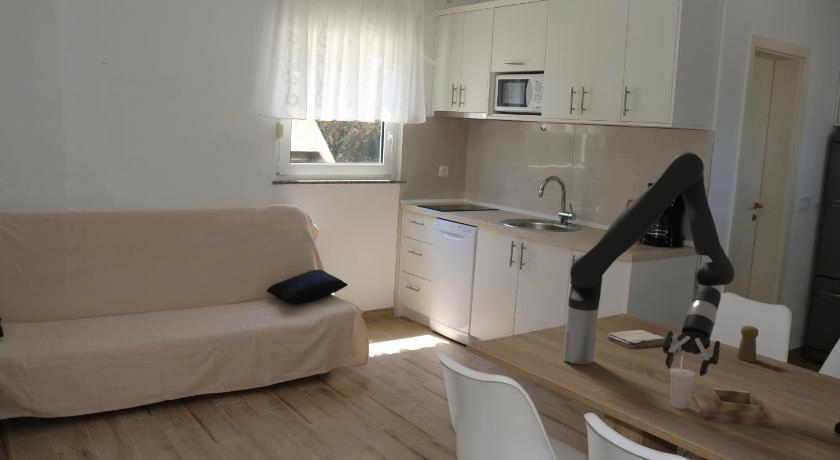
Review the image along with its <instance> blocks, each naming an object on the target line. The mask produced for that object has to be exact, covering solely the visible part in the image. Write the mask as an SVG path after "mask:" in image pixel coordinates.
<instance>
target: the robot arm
mask: <svg viewBox="0 0 840 460" xmlns="http://www.w3.org/2000/svg"><path fill="white" fill-rule="evenodd" d="M704 171H705V164H704V162H703V160H702V159H701V157H700V156H699V155H697V154H695V153H693V152H688V151H687V152H685V151H684V152H681V153H678V154H677V155H676V156H674V157H673V159H672V160H671V161H670V163H669V164H668V165H667V167H666V168H665V169H664V171H663V172H662V173H661V175H660V176H659V177H658V178H657V179H656V181H655V182H654V183H653V184H651V185H650V186H649V187H648V188H647V189H646V190H644V191H643V192H642V193H641V194H640V195H638V197H636V198H635V199H634V200H633V201H631V203H630V204H628V206H627V207H625V208H624V209H623V211H622V212H620V214H619V215H618V216H617V217H616V218H615V219H614V221H613V222H612V223H611V224H610V226H609V227H608V228H607V230H606V231H605V232H604V234H603V235H602V237H601V238H600V239H599V240H598V241H597V243H596V244H595V245H594V246H593V247H592V248H590V249H588V251H587V252H586V253H584V254H583V255H580V256H579V257H578V258H576V259H575V261H574V262H572V265H571V267H570V272H569V275H570V279H571V284H570V291H569V296H568V302H567V303H568V304H567V317H566V326H565V333H564V343H563V345H564V346H563V355H562V356H563V362H566V361H567V363H570V364H574V365H581V366H582V365H586V366H587V365H591V364H594V361H595V360H594V358H595V349H596V341H597V340H596V338H597V328H598V319H599V307H600V300H601V293H602V285H603V283H602V282H603V276H604V274H605V273H606V272H607V270H608V269H609V268H610V267H611V265H612V264H613V263H614V262H615V261H616V260H617V259H618V258H619V257H621V256H622V255H623V254H624V253H625V252H627V251H628V250H629V249H631V247H632V246H634V245H635V244H636V243H637V242H639V241H640V239H641V238H643V237H644V236H645V235H646V234H647V233H648V232H649V231H650V230H651V229H652V227H653V226H654V225H655V224H656V223H657V222H658V220H659V219H660V218H661V217H662V216H663V214H664V213H665V212H666V211H667V208H668V207H669V206H670V205H671V203H673V202H674V200H675V199H677V197H678V196H680V195H682V199H683V202H684V205H685V210H686V216H687V222H688V226H689V227H688V228H689V232H690V236H691V240H692V244H693V248H694V251H695V253H696V255H699V256H704V257H705V256H706V257H709V259H710V260H711V261H709V262H702V263H700V264H699V265H698V266H697V267H696V268H695V271H694V295H693V297H692V300H691V304H690V305H689V307H688V310H687V314H686V315H685V319H684V323H683V325H682V329H681V330H680V331H681V332H680V333H679V334H677V333H673V331H672V330H670V331H668V332H667V335H666V337H665V338H666V339H665V342H664V344H662V351H663V354H664V355H666V354H667V355H666V359H665V361H664V362H665V366H666V368H667V369H669V370H670V369H671V368H672V365H673V362H674V358H675V356H676V355H678V354H681V353H683V352H685V353H688V354H689V353H690V354H694V355H696V356H697V355H700V357H701V359H702V362H701V366H700V369H699V376H701V377H704V376H705V375H706V374H707V373H708V370H709V369H708V368H709V366H710V365H712V364H713V365H717V364H718V363H719V358H720V353H721V348H722V347H721V341H720V340H716V341H711V340H710V339H711V336H712V333H713V330H714V326H715V325H716V320H717V313H718V310H719V306H720V302H721V299H722V294H721V292H720V290H718V289H717V288H716V287H717V286H719V287H720V286H727V285H729V284H731V283H732V282H733V281H734V278H735V269H734V266H733V264H732V262H731V261H730V259H729V257H728V256H727V253H726V252H725V250H724V248H723V247H722V245H721V242H720V237H719V235H718V230H717V227H716V223H715V220H714V217H713V213H712V211H711V209H710V205H709V202H708V197H707V195H706V188H705V180H704V179H705V178H704V177H705V176H704ZM676 340H678V342H676ZM674 342H676V343H675V344H674V345H673V344H672V343H674ZM672 345H673V346H672ZM671 346H672V347H671ZM710 347H711V350H712V351H713V352H712V356H709V355H708V353H707V351H706V350H707V349H708V348H710Z"/></svg>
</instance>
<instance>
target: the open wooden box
mask: <svg viewBox="0 0 840 460" xmlns="http://www.w3.org/2000/svg"><path fill="white" fill-rule="evenodd" d="M691 396H692V400H693V401H694V403H695V405H696V407H697V408H698V410H699V412H700V414H701V416H702V418H703V419H704V421H709V422H717V423H718V422H719V423H726V424H734V425H735V424H736V425H742V426H743V425H744V426H752V427H753V426H754V427H761V428H771V429H777V430H778V429H780V427H781V424H780V422H779V421H778V419H776V417H775V416H774V415H773V413H772V412H771V411H770V409H769V408H768V407H767V406H766V405H765V403H764V402H763V401H762V400H759V399H758V397H756V395H755V394H754V393H753V392H752V391H747V390H746V391H745V390H737V389H728V388H727V389H726V388H720V387H719V388H718V387H708V394H704V393H695V392H692V395H691Z"/></svg>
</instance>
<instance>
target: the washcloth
mask: <svg viewBox="0 0 840 460" xmlns="http://www.w3.org/2000/svg"><path fill="white" fill-rule="evenodd" d="M606 339H607V340H609V341H610V340H611V342H612V341H613V343H615V344H617V343H618V344H617V345H619V344H620V346H622V347H624V348H626V349H627V348H628V349H630V348H631V349H636V348H645V347H653V345H654V346H660V345H662V346H663V344H664V342H665V339H666V337H664V336H661V335H657V334H653V333H651V332H649V331H647V330H643V329H636V330H626V331H625V330H623V331H618V332H617V331H616V332H609V333H607V337H606Z"/></svg>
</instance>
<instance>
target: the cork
mask: <svg viewBox="0 0 840 460" xmlns="http://www.w3.org/2000/svg"><path fill="white" fill-rule="evenodd" d="M740 334H741V339H740V342H739V346H738V350H737V353H736V356H735V358H736V359H737V360H739V361H742V362H747V363H756V362H757V337H758V336H759V330H758V328H757V327H756V326H753V325H743V326H742V327H741V329H740Z"/></svg>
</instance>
